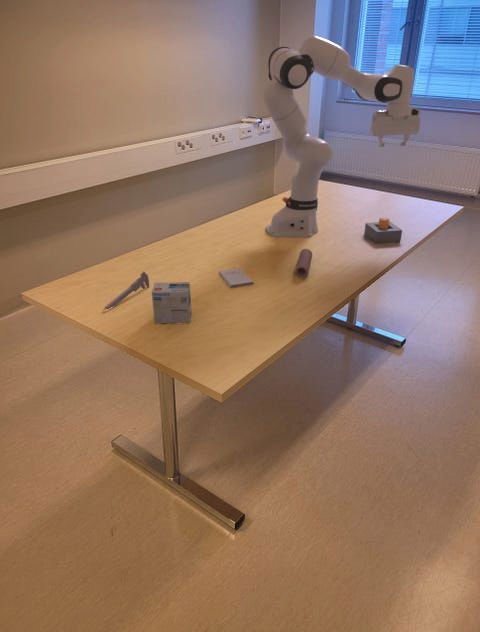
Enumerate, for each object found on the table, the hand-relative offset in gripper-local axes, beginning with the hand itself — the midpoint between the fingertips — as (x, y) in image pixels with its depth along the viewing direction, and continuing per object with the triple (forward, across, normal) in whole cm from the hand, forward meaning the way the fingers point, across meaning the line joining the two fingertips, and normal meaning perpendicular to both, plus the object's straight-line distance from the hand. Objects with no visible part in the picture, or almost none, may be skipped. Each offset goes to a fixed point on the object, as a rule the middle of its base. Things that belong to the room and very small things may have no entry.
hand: (392, 146), depth 207 cm
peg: (+34, -6, -14) cm, 37 cm away
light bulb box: (+34, -98, -65) cm, 122 cm away
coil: (+35, -48, -37) cm, 70 cm away
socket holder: (+34, -6, -14) cm, 37 cm away
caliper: (+34, -111, -49) cm, 127 cm away
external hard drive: (+35, -74, -41) cm, 92 cm away
